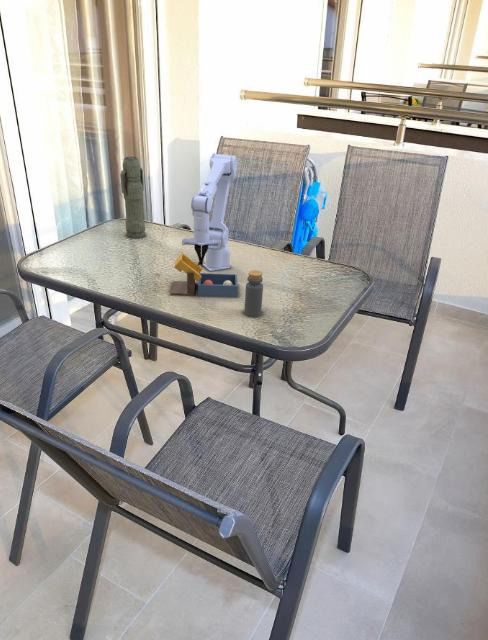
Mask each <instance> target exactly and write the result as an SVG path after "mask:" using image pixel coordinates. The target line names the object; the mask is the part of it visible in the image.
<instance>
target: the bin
mask: <svg viewBox="0 0 488 640" xmlns="http://www.w3.org/2000/svg"><path fill="white" fill-rule="evenodd" d="M199 275H201V276H202V278H201V279H200V280H199V281H198V282H197V296H198V297H216V298H217V297H219V298H237V297H238V286H239V285H238V274H237V273H209V272H200V273H199ZM206 280H211V281H212V283H213V285H206V284H203V283H204V281H206ZM226 280H229V281H231V282H232V285H223V283H224V282H225V281H226Z"/></svg>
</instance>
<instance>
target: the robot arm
mask: <svg viewBox="0 0 488 640" xmlns="http://www.w3.org/2000/svg"><path fill="white" fill-rule="evenodd" d="M238 165H239V164H238V157H237V156H236V155H229V154H221V153H215V152H213V153H212V154H211V155H210V157H209V169H210V170H209V174H208V177H207V179H206V180H204V181H203V182H202V185H201V186H200V188H199V190H198V192H197V194H196V195H194V196H192V199H191V201H190V202H191V204H190V208H191V213H192V217H193V237H190V238H182V239H181V246H194V247H193V248H194V251H195V253H196V256H197V258H198V262H199V264H203V267H204V268H206V269H207V270H208V271H209V272H213V271H220V270H227V269H230V268H231V266H230V261H231V260H230V257H231V251H230V247H229V246H228V242H229V232H230V230H229V228H228V226H227V225H226V224H225V223H224V221H225V215H226V209H227V205H228V197H229V193H230V187H231V183H232V181H234V180H236V177H237V170H238ZM214 197H215V199H214ZM213 199H214V200H213ZM212 208H213V209H212ZM211 211H212V216H211V220H210V214H211ZM204 261H205V262H204Z"/></svg>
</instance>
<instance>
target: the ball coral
mask: <svg viewBox="0 0 488 640" xmlns="http://www.w3.org/2000/svg"><path fill="white" fill-rule="evenodd" d="M203 284H206V285H213V283H212V281H211V280H206V281H204V283H203Z"/></svg>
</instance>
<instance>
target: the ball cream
mask: <svg viewBox="0 0 488 640" xmlns="http://www.w3.org/2000/svg"><path fill="white" fill-rule="evenodd" d="M223 285H232V282H231V281H229V280H226V281H225V282H224V283H223Z"/></svg>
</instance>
